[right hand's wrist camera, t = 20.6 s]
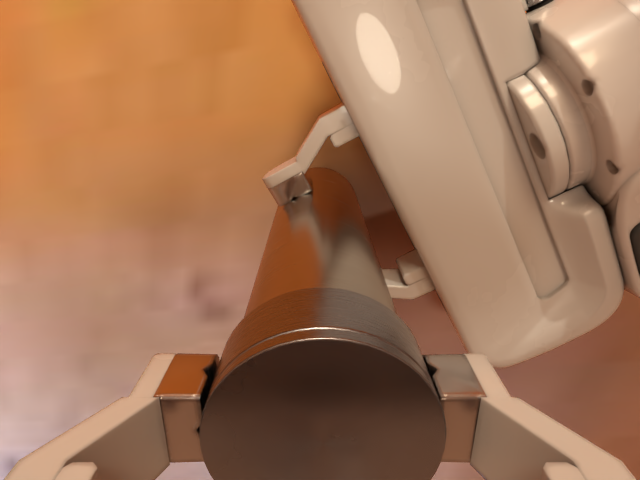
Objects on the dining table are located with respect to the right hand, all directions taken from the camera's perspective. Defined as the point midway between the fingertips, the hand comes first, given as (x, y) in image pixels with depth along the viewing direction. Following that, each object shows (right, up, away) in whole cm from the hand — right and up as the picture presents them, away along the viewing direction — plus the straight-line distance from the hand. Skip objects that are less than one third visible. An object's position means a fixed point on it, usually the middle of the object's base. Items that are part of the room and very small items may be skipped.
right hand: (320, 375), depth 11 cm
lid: (0, -1, -2) cm, 2 cm away
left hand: (-1, +3, +10) cm, 11 cm away
